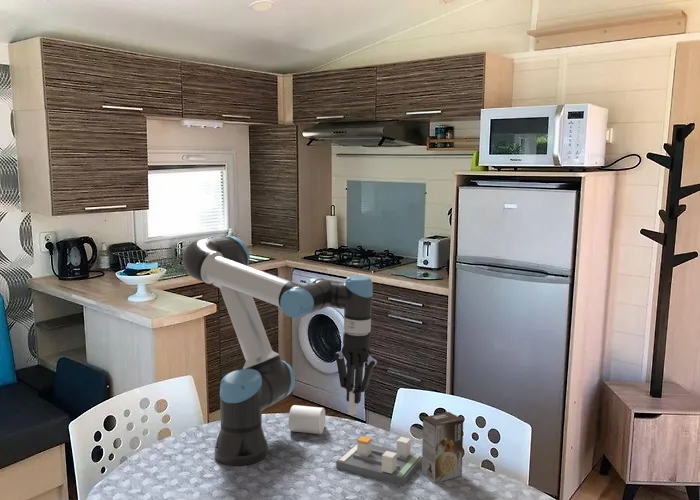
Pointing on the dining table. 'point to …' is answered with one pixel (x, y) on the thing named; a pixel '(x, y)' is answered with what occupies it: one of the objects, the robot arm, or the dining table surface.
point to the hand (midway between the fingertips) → (352, 412)
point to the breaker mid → (364, 446)
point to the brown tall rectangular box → (442, 446)
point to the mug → (306, 419)
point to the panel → (379, 465)
